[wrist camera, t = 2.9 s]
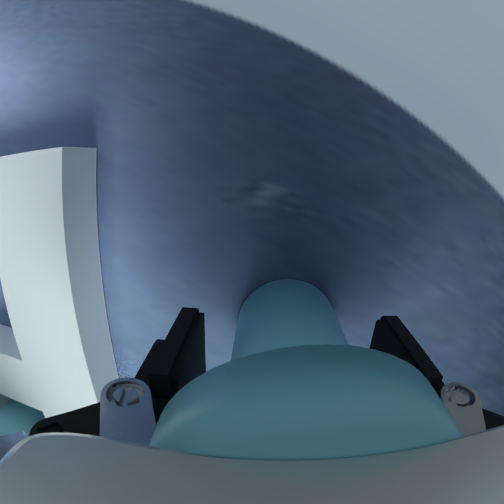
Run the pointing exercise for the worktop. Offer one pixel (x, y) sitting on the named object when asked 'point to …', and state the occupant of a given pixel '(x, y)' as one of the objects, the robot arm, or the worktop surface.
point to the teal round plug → (302, 390)
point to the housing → (52, 282)
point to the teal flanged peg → (18, 417)
